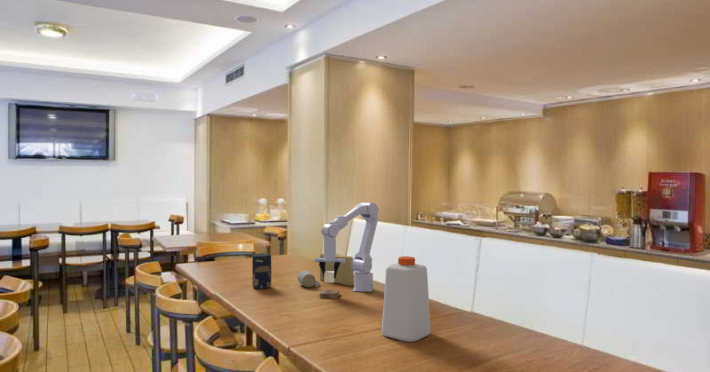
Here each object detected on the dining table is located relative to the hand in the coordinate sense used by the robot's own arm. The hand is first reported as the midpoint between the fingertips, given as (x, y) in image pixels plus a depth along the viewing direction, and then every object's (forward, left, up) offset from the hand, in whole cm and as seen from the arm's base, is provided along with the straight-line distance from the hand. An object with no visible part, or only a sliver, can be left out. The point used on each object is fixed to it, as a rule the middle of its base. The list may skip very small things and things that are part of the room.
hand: (329, 277), depth 228 cm
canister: (+37, -13, -9) cm, 40 cm away
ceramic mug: (+14, -20, -9) cm, 26 cm away
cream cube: (0, 0, -2) cm, 2 cm away
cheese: (-1, -30, -9) cm, 31 cm away
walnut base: (0, 0, -9) cm, 9 cm away
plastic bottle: (-36, +51, -9) cm, 63 cm away
